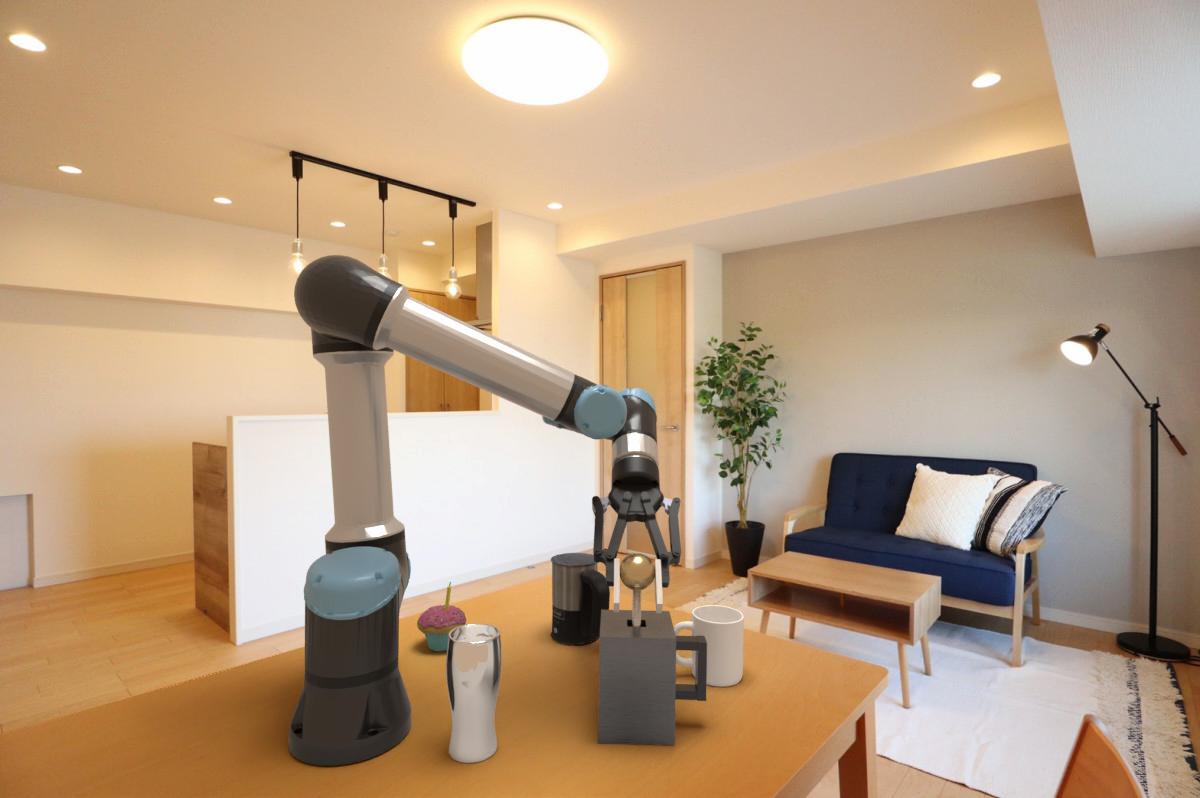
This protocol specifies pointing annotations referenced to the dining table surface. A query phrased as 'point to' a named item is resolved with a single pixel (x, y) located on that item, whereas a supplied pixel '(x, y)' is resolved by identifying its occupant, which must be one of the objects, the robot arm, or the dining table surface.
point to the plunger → (637, 580)
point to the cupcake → (440, 623)
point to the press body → (643, 677)
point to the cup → (717, 643)
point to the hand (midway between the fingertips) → (637, 607)
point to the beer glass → (473, 690)
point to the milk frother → (577, 598)
